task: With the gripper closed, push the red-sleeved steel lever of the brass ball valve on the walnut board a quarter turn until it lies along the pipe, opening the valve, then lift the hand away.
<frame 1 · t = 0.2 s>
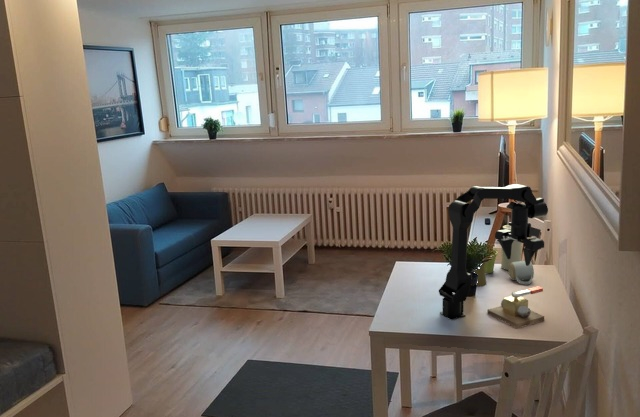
hand: (518, 262, 209), 15 cm above the table, tool pointing down, fingers open, 9 cm apart
travel mug: (510, 268, 248), on the table
valve lever: (526, 292, 198), point 8 cm above the table, hinge at 0.0°
plant pot: (485, 271, 245), on the table
valve board: (515, 317, 198), on the table
ball valve: (515, 305, 197), on the valve board, point 4 cm above the table
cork: (478, 284, 231), on the table
ceramic mug: (522, 281, 232), on the table
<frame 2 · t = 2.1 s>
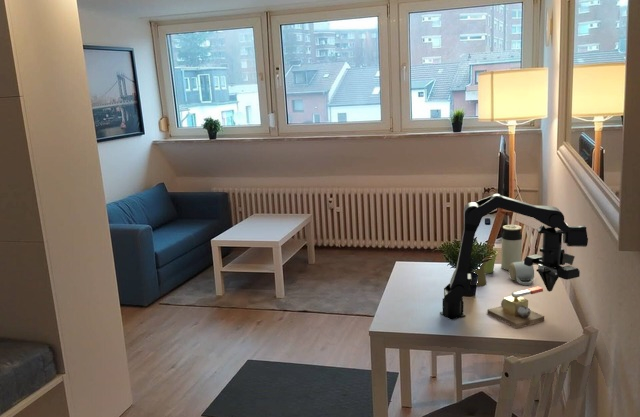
hand: (549, 291, 194), 10 cm above the table, tool pointing down, fingers closed
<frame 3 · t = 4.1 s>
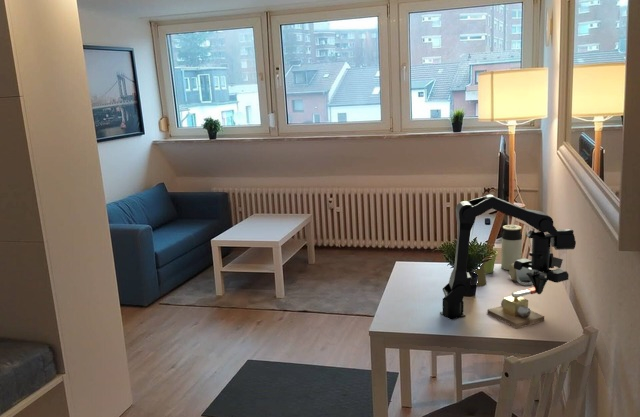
hand: (539, 293, 198), 7 cm above the table, tool pointing down, fingers closed
valve lever: (526, 292, 198), point 8 cm above the table, hinge at 0.1°, touching gripper
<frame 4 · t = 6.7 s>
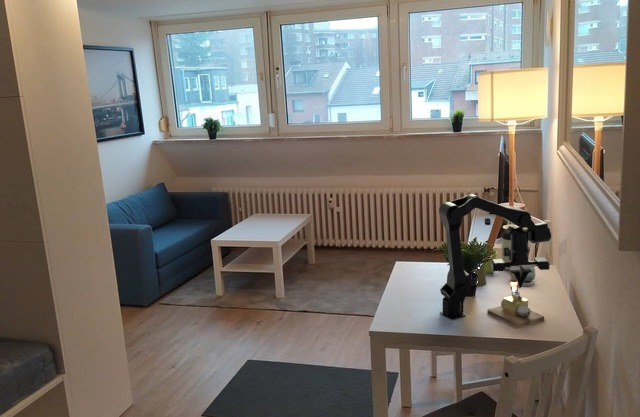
hand: (519, 287, 204), 7 cm above the table, tool pointing down, fingers closed
valve lever: (514, 289, 201), point 8 cm above the table, hinge at 51.1°, touching gripper
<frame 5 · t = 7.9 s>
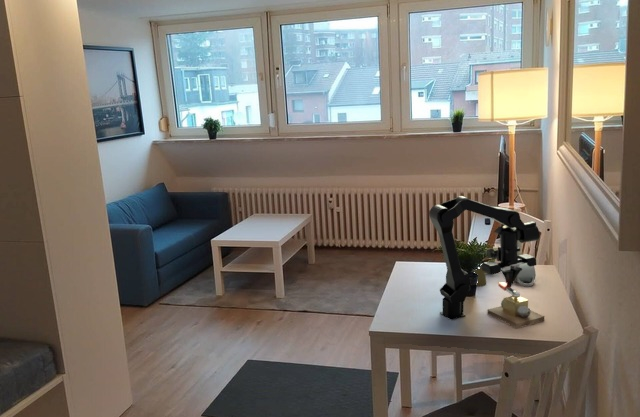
hand: (509, 287, 205), 8 cm above the table, tool pointing down, fingers closed
valve lever: (509, 289, 201), point 8 cm above the table, hinge at 73.3°, touching gripper
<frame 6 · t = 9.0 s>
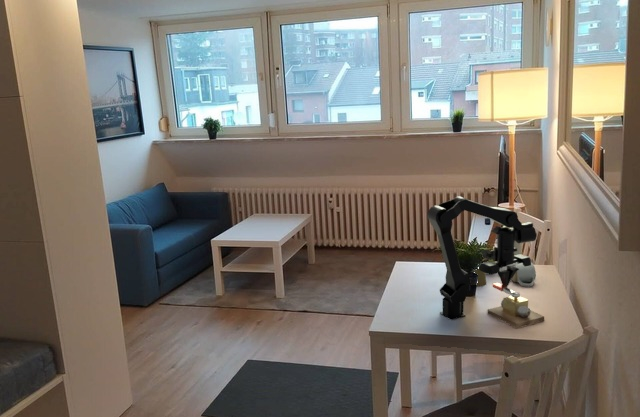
hand: (505, 287, 205), 7 cm above the table, tool pointing down, fingers closed
valve lever: (506, 290, 201), point 8 cm above the table, hinge at 85.9°
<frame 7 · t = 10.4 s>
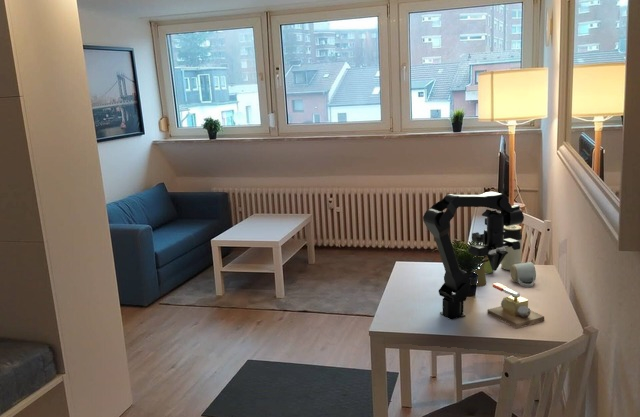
hand: (494, 270, 206), 13 cm above the table, tool pointing down, fingers closed
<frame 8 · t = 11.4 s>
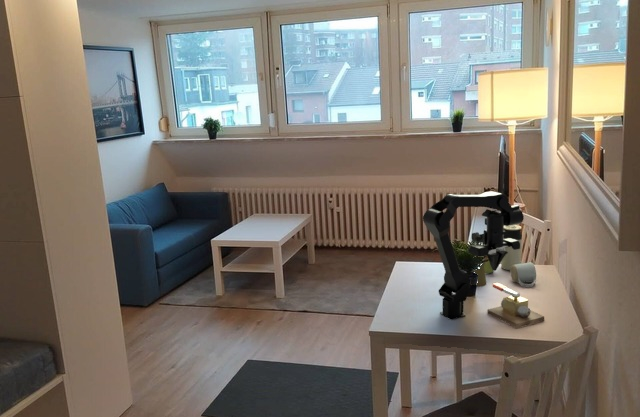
hand: (494, 270, 206), 13 cm above the table, tool pointing down, fingers closed
at the end: valve lever at +86° (first picture: +0°) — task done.
